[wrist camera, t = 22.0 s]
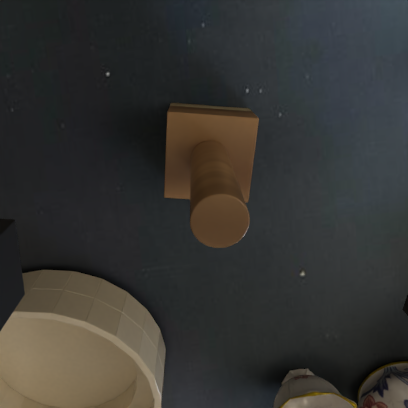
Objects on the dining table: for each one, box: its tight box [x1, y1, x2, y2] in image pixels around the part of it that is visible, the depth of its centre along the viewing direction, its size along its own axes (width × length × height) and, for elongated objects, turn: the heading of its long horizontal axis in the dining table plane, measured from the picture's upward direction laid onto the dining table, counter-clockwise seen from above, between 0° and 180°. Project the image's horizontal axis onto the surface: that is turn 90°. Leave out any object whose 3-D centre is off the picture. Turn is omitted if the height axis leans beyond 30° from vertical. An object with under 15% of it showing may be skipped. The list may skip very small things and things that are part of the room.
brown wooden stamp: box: [164, 103, 259, 248], centre depth 23 cm, size 6×6×14 cm
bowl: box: [0, 270, 166, 408], centre depth 34 cm, size 19×19×6 cm
